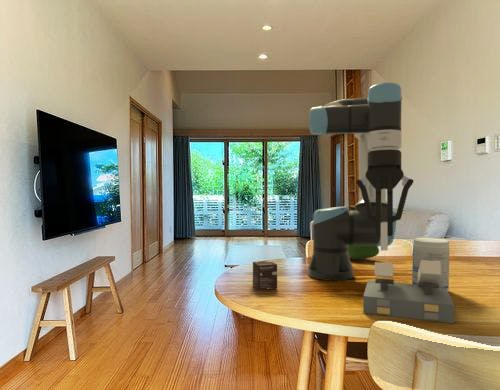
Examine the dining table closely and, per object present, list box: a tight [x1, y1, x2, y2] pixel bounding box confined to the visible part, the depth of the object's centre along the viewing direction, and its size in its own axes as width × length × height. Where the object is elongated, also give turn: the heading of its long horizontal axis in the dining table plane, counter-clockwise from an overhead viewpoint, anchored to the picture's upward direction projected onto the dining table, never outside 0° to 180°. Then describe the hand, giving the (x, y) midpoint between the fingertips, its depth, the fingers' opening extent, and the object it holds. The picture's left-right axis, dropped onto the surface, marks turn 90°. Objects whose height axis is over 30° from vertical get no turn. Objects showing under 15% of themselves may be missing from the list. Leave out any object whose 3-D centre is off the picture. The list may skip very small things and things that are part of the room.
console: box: [362, 277, 455, 324], centre depth 91 cm, size 19×16×7 cm
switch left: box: [374, 261, 394, 279], centre depth 93 cm, size 4×14×3 cm, turn 158°
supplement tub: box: [411, 237, 450, 293], centre depth 106 cm, size 10×10×15 cm
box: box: [252, 260, 278, 290], centre depth 110 cm, size 6×6×7 cm
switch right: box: [418, 260, 441, 283], centre depth 89 cm, size 4×14×3 cm, turn 158°
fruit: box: [348, 245, 380, 261], centre depth 153 cm, size 15×10×10 cm, turn 47°
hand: (384, 249), depth 87 cm, fingers closed
